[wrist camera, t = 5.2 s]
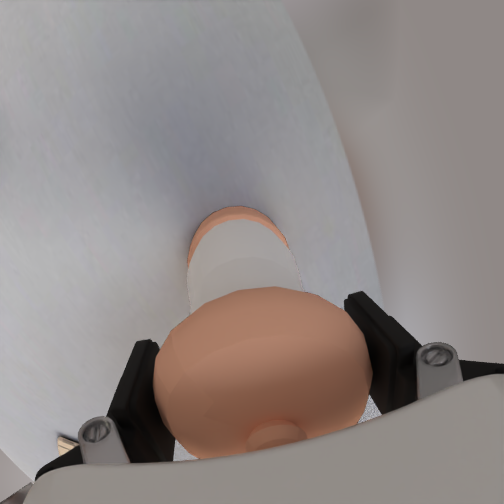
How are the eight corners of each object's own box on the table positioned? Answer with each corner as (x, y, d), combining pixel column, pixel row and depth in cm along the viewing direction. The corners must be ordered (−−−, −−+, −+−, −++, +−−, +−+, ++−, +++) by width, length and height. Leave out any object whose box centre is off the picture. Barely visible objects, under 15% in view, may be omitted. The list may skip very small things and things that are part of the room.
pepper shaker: (205, 302, 26) (192, 522, 7) (180, 218, 24) (76, 376, 5) (289, 281, 26) (398, 474, 8) (272, 196, 24) (421, 294, 6)
